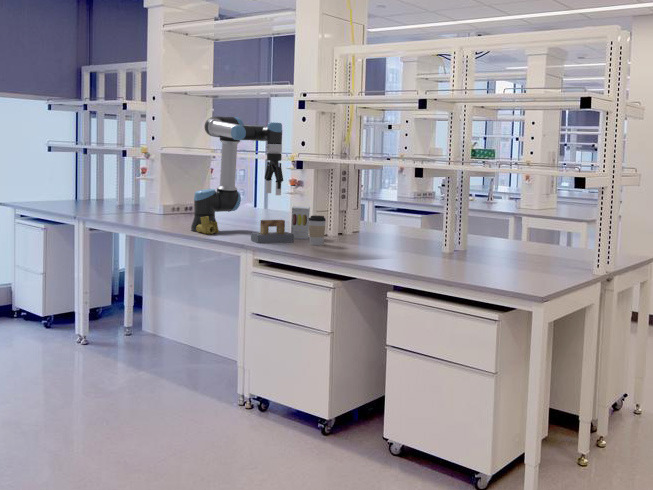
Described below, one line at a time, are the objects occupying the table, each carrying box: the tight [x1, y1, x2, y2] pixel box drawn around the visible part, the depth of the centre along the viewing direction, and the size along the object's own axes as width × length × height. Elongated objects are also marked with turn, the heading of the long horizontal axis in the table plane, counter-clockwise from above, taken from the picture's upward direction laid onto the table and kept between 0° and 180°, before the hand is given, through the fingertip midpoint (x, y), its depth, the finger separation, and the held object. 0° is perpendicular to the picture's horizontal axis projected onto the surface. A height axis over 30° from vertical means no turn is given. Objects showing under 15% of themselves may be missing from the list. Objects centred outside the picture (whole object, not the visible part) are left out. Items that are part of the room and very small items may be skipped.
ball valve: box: [196, 216, 219, 236], centre depth 402 cm, size 13×10×10 cm
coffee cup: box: [309, 215, 327, 246], centre depth 372 cm, size 9×9×15 cm
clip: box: [259, 219, 286, 235], centre depth 379 cm, size 12×4×11 cm, turn 116°
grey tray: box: [250, 231, 295, 244], centre depth 379 cm, size 20×10×4 cm, turn 116°
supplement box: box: [290, 205, 311, 240], centre depth 396 cm, size 10×9×17 cm
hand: (273, 194), depth 376 cm, fingers open, 13 cm apart
